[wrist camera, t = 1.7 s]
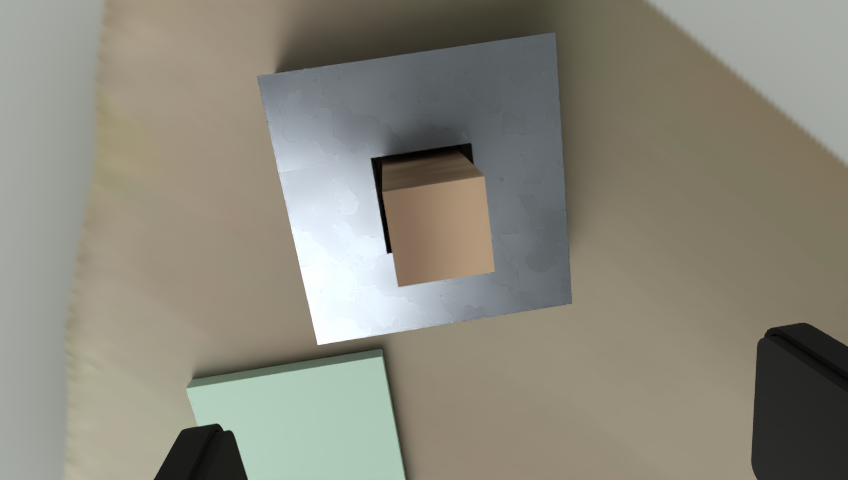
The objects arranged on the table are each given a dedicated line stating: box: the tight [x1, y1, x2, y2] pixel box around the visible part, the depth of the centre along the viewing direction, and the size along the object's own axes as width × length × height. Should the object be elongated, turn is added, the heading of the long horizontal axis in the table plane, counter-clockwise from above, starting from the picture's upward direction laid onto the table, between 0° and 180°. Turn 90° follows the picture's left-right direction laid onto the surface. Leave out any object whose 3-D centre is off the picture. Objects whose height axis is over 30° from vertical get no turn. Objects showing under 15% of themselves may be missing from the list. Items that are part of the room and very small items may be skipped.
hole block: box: [257, 32, 572, 345], centre depth 29 cm, size 14×14×4 cm
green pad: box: [186, 349, 406, 480], centre depth 35 cm, size 12×12×1 cm
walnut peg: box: [382, 145, 495, 287], centre depth 26 cm, size 4×4×10 cm
